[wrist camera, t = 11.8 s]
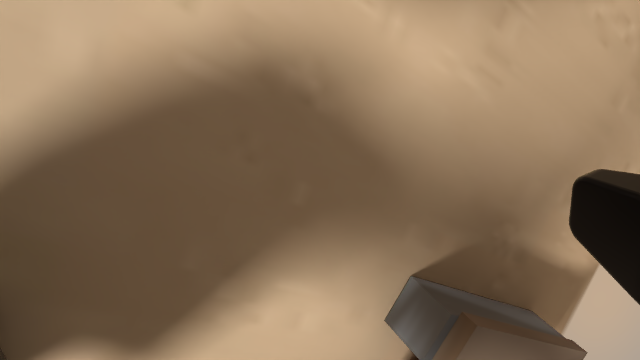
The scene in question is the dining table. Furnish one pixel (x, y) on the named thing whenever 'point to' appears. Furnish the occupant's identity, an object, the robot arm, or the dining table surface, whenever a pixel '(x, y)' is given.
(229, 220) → the dining table surface
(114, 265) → the dining table surface
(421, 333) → the plank bridge
